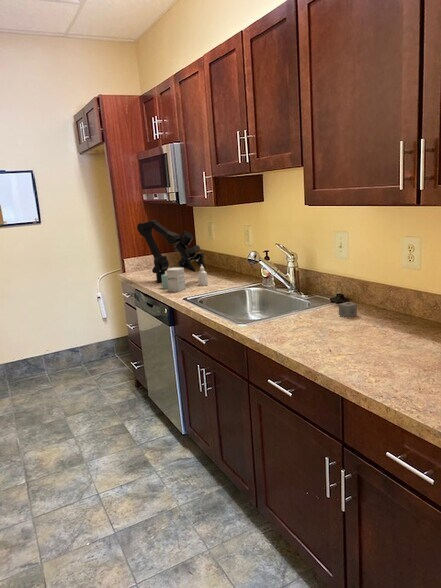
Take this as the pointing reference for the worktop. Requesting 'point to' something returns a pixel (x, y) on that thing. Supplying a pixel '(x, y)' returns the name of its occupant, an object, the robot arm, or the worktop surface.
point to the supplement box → (176, 279)
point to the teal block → (164, 281)
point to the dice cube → (347, 309)
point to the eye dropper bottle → (202, 277)
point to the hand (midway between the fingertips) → (200, 269)
